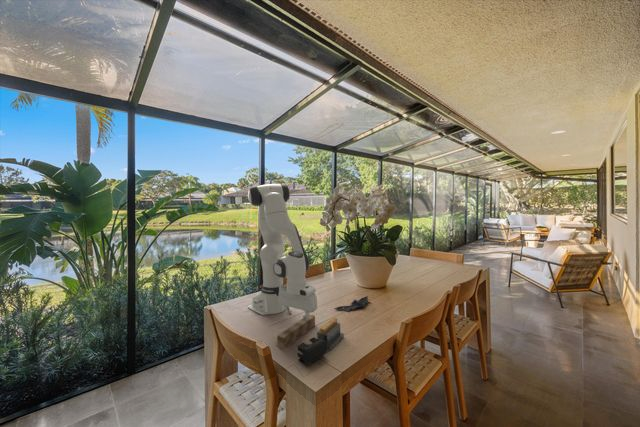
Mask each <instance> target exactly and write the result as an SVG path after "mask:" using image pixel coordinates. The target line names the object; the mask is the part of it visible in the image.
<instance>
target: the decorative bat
mask: <svg viewBox="0 0 640 427" xmlns="http://www.w3.org/2000/svg"><path fill="white" fill-rule="evenodd" d="M366 304H369V305H370V302H369V300H368V295H367V296H365V297H361V298H360V299H359V300H357V299H354V300H353V301H352V302H351V303H350V305H343V306H342V305H340V306H338V307H335V308H334V310H337V311H343V312H349V311H351V310H355V309H356V308H357V309H361V308H363V307H364V306H365V305H366Z"/></svg>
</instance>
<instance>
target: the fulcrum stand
mask: <svg viewBox="0 0 640 427" xmlns="http://www.w3.org/2000/svg"><path fill="white" fill-rule="evenodd" d="M344 336H345V333H343V332H341V323H340V322H338V318H337V317H332V318H331V319H329V321H327V322H326V323H325V324H324V325H322V326H321V327H320V328H319V330H318V331H317V332H316V339H318V340H320V339H323V340H324V341H325V342H326V344H327V351H332V349H334V347H335V346H337V345H338V343H339V342H340V341H342V339H344V338H345V337H344Z"/></svg>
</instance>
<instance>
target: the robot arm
mask: <svg viewBox="0 0 640 427" xmlns="http://www.w3.org/2000/svg"><path fill="white" fill-rule="evenodd" d="M290 196H291V193H290V188H289V187H288V185H287V184H284V183H268V184H262V185H254V186H251V187H250V188H249V189H248V193H247V199H248V202H250V204H251V205H252V206H254V207H257V211H258V212H257V213H258V215H257V216H258V222H259V223H258V224H259V233H260V235H261V237H262V241H263V246H262V247H261V249H260V250H259V258H260V261H261V262H260V263H261V267H262V281H263V283H262V284H261V285H260V286H259V289H260V291H258V292H257V293H256V294H255V295H254V296H252V300H251V301H252V302H251V303H250V304H248V306H247V308H248V309H249V310H251V311H253V312H256V313H257V314H259V315H261V316H266V315H274V314H280V313H282V312H284V311H286V315H287V316H291V315H292V310H291V308H293V309H297V310H300V311H303V312H304V313H305V314H304V315H303V316H302V319H304V320H307V319H308V315H310V313H311V314H312V313H314V312H316V311H317V310H318V298H317V295H316V291H317V289H316V288H315V287H314V286H313V285H310V283H308V282H307V279H306V273H307V272H308V270H309V269H310V266H311V265H310V260H309V257H308V255H307V254H306V251H305V248H304V245H303V242H302V239H301V236H300V234H299V230H298V228H297V226H296V224H295V223H293V222H292V220H291V219H290V217H289V214H288V209H287V205H286V203H287V202H288V201H289V200H290ZM282 235H283V236H285V237H287V239H288V240H289V242H290V245H291V248H292V251H290V252H288V253H287V254H286V255H284V256H282V255H283V254H284V251H285V246H284V241H283V237H282ZM284 278H285V279H286V284H284Z"/></svg>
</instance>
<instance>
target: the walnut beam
mask: <svg viewBox="0 0 640 427" xmlns="http://www.w3.org/2000/svg"><path fill="white" fill-rule="evenodd" d="M315 325H316V317H315V315H312V314H309V315H308V319H307V320H304V319H303V318H302V319H300V320H298V321H297V322H296V323H294V324H292V325H291V326H289V328H287V329H286V330H283V331H282V332H280V333H279V334H278V335H277V338H276V340H277V347H278V348H280V349H283V350H285V349H286V348H287V347H288V346H290V345H291V344H292V343H294V342H295V341H297V340H298V339H299V338H300V337H301V336H303V335H304V334H306V333H307V332H308V331H309V330H310V329H313V327H315Z"/></svg>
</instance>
